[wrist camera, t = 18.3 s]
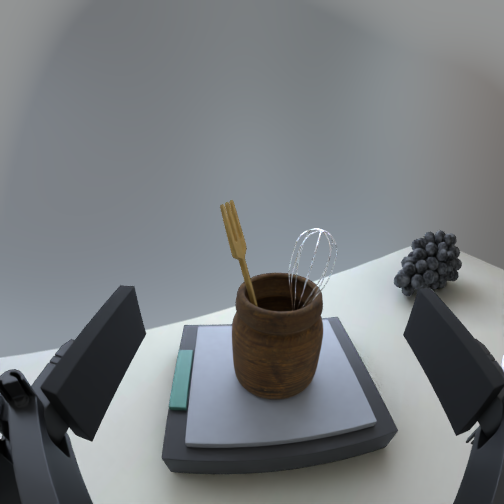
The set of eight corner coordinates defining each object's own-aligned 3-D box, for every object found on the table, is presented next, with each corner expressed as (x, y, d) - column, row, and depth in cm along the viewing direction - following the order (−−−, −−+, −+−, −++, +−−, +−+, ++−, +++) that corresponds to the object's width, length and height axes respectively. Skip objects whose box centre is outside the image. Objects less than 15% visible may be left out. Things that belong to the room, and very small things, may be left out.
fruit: (418, 240, 27) (467, 227, 32) (371, 240, 35) (428, 228, 40) (419, 311, 28) (468, 282, 33) (375, 300, 36) (430, 277, 41)
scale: (171, 471, 13) (158, 454, 12) (187, 344, 26) (183, 319, 25) (385, 447, 14) (401, 426, 13) (333, 335, 27) (338, 311, 26)
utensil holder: (306, 411, 15) (339, 228, 11) (216, 388, 17) (198, 215, 12) (321, 353, 20) (342, 201, 16) (246, 339, 22) (244, 193, 18)
